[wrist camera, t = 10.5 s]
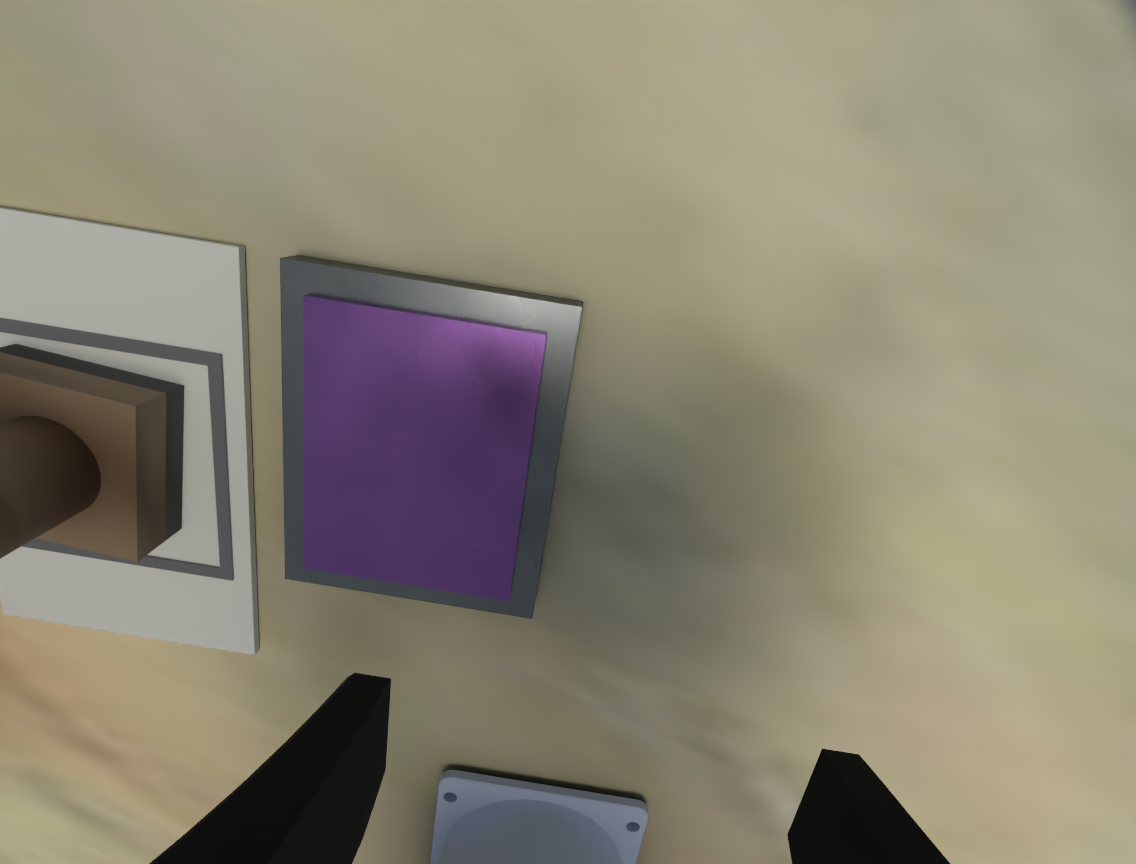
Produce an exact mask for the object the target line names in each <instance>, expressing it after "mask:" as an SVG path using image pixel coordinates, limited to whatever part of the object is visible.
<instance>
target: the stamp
mask: <svg viewBox="0 0 1136 864" xmlns="http://www.w3.org/2000/svg"><path fill="white" fill-rule="evenodd" d="M183 435H184V385H181V384H177V383H173V382H168V381H164V380H160V379H156V378H152V377H148V376H144V375H140V374H136V373H132V372H128V371H124V370H120V369H116V368H112V367H108V366H104V365H100V364H96V363H92V362H88V361H84V360H80V359H76V358H72V357H68V356H64V355H60V354H56V353H52V352H48V351H44V350H40V349H36V348H32V347H28V346H24V345H20V344H13V345H8V346H4V347H0V559H1V558H2V557H4V556H6V555H8V554H9V553H11V552H13V551H14V550H16V549H18V548H20V547H21V546H23V545H25V544H26V543H28V542H30V541H32V540H33V539H35V538H38V539H43V540H47V541H51V542H55V543H59V544H64V545H68V546H72V547H76V548H80V549H85V550H89V551H93V552H97V553H101V554H106V555H110V556H114V557H118V558H122V559H127V560H131V561H135V562H138V561H140V560H141V559H142V558H143V557H145V556H146V555H147V554H149V553H150V552H151V551H153V550H154V549H155V548H157V547H158V546H159V545H161V544H162V543H163V542H165V541H166V540H167V539H169V538H170V537H171V536H172V535H174V534H175V533H176V532H178V531H179V530H180V529H182V489H183Z"/></svg>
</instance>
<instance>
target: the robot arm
mask: <svg viewBox="0 0 1136 864" xmlns="http://www.w3.org/2000/svg"><path fill="white" fill-rule="evenodd" d="M390 687H391V679H390V678H384V677H377V676H371V675H365V674H359V673H354V674H352V675H350V676H349V677H347V678H346V680H345V681H344V682H343V683H342V684H341V685H340V686H339V687H338V688H337V689H336V691H335V692H334V693H333V694H332V695H331V696H330V697H329V698H328V699H327V700H326V701H325V702H324V703H323V704H322V705H321V707H320V708H319V709H318V710H317V711H316V712H315V713H314V714H313V715H312V716H311V717H310V718H309V719H308V720H307V721H306V722H305V723H304V724H303V725H302V726H301V727H300V728H299V729H298V730H297V731H296V732H295V733H294V734H293V735H292V736H291V737H290V738H289V739H288V740H287V741H286V742H285V743H284V744H283V745H282V746H281V747H280V748H279V749H278V750H277V751H276V752H275V753H274V754H273V755H272V756H270V757H269V758H268V759H267V760H266V761H265V762H264V763H263V764H262V765H261V766H260V767H259V768H258V769H257V770H256V771H255V772H254V773H253V774H252V775H251V776H250V777H249V778H248V779H246V780H245V781H244V782H243V783H242V784H241V785H240V786H239V787H238V788H237V789H236V790H234V791H233V792H232V793H231V794H230V795H229V796H228V797H227V798H225V799H224V800H223V801H222V802H221V803H220V804H219V805H217V806H216V807H215V808H214V809H213V810H212V811H211V812H209V813H208V814H207V815H206V816H205V817H204V818H203V819H202V820H200V821H199V822H198V823H197V824H196V825H195V826H194V827H192V828H191V829H190V830H189V831H188V832H187V833H186V834H184V835H183V836H182V837H181V838H180V839H179V840H177V841H176V842H175V843H174V844H173V845H171V846H170V847H169V848H168V849H167V850H165V851H164V852H163V853H162V854H160V855H159V856H158V857H157V858H156V859H154V860H153V861H152V862H151V863H149V864H352V862H353V860H354V858H355V855H356V853H357V851H358V848H359V846H360V844H361V841H362V839H363V836H364V833H365V830H366V827H367V824H368V821H369V818H370V815H371V812H372V810H373V807H374V803H375V800H376V797H377V794H378V791H379V788H380V785H381V782H382V779H383V776H384V772H385V768H386V752H387V736H388V719H389V703H390ZM647 822H648V807H647V805H646V804H645V803H644V802H642V801H640V800H637V799H631V798H625V797H618V796H612V795H606V794H600V793H594V792H588V791H581V790H575V789H569V788H563V787H557V786H551V785H544V784H538V783H532V782H526V781H520V780H514V779H507V778H501V777H495V776H489V775H483V774H477V773H470V772H464V771H458V770H448V771H445V772H444V773H443V774H442V775H441V778H440V781H439V785H438V795H437V804H436V814H435V823H434V833H433V842H432V852H431V861H430V864H636V861H637V857H638V854H639V850H640V846H641V843H642V839H643V836H644V832H645V829H646V825H647ZM788 841H789V847H790V853H791V859H792V864H950V863H949V862H948V861H947V859H946V858H945V857H944V856H943V855H942V853H941V852H940V851H939V850H938V849H937V847H936V846H935V845H934V844H933V843H932V841H931V840H930V839H929V838H928V837H927V835H926V834H925V833H924V832H923V831H922V829H921V828H920V827H919V826H918V825H917V823H916V822H915V821H914V820H913V819H912V817H911V816H910V815H909V814H908V813H907V811H906V810H905V809H904V808H903V807H902V805H901V804H900V803H899V802H898V800H897V799H896V798H895V797H894V796H893V794H892V793H891V792H890V791H889V790H888V788H887V787H886V786H885V785H884V784H883V782H882V781H881V780H880V779H879V778H878V776H877V775H876V774H875V773H874V772H873V770H872V769H871V768H870V767H869V766H868V765H867V763H866V762H865V761H864V760H863V759H862V758H861V757H860V755H858V754H852V753H846V752H839V751H833V750H827V749H822V751H821V753H820V756H819V758H818V760H817V763H816V765H815V768H814V770H813V773H812V775H811V778H810V780H809V783H808V785H807V788H806V790H805V793H804V795H803V798H802V800H801V803H800V805H799V808H798V810H797V812H796V815H795V817H794V820H793V822H792V825H791V827H790V830H789V832H788Z"/></svg>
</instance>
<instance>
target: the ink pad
mask: <svg viewBox="0 0 1136 864" xmlns="http://www.w3.org/2000/svg"><path fill="white" fill-rule="evenodd" d="M280 284H281V346H282V408H283V470H284V532H285V579H291V580H297V581H303V582H309V583H315V584H322V585H328V586H334V587H340V588H346V589H352V590H358V591H365V592H371V593H377V594H383V595H389V596H395V597H402V598H408V599H414V600H420V601H426V602H432V603H438V604H445V605H451V606H457V607H463V608H469V609H475V610H482V611H488V612H494V613H500V614H506V615H512V616H519V617H525V618H531V619H532V617H533V611H534V606H535V600H536V594H537V587H538V581H539V575H540V569H541V562H542V556H543V550H544V544H545V537H546V531H547V525H548V519H549V512H550V506H551V500H552V494H553V487H554V481H555V475H556V468H557V462H558V456H559V450H560V443H561V437H562V431H563V425H564V418H565V412H566V406H567V400H568V393H569V387H570V381H571V375H572V368H573V362H574V356H575V350H576V343H577V337H578V331H579V325H580V318H581V312H582V306H583V302H582V301H576V300H570V299H564V298H558V297H552V296H545V295H539V294H533V293H527V292H521V291H515V290H509V289H503V288H496V287H490V286H484V285H478V284H472V283H466V282H460V281H454V280H447V279H441V278H435V277H429V276H423V275H417V274H411V273H405V272H398V271H392V270H386V269H380V268H374V267H368V266H362V265H356V264H349V263H343V262H337V261H331V260H325V259H319V258H313V257H306V256H300V255H296V256H289V257H283V258H280Z"/></svg>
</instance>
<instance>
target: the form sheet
mask: <svg viewBox="0 0 1136 864" xmlns="http://www.w3.org/2000/svg"><path fill="white" fill-rule="evenodd" d="M13 344H20V345H24V346H28V347H32V348H36V349H40V350H44V351H48V352H52V353H56V354H60V355H64V356H68V357H72V358H76V359H80V360H84V361H88V362H92V363H96V364H100V365H104V366H108V367H112V368H116V369H120V370H124V371H128V372H132V373H136V374H140V375H144V376H148V377H152V378H156V379H160V380H164V381H168V382H173V383H177V384H181V385H184V435H183V489H182V529H180V530H179V531H178V532H176V533H175V534H174V535H172V536H171V537H170V538H169V539H167V540H166V541H165V542H163V543H162V544H161V545H159V546H158V547H157V548H155V549H154V550H153V551H151V552H150V553H149V554H147V555H146V556H145V557H143V558H142V559H141V560H140V561H138V562H135V561H131V560H127V559H122V558H118V557H114V556H110V555H106V554H101V553H97V552H93V551H89V550H85V549H80V548H76V547H72V546H68V545H64V544H59V543H55V542H51V541H47V540H43V539H38V538H35V539H33V540H32V541H30V542H28V543H26V544H25V545H23V546H21V547H20V548H18V549H16V550H14V551H13V552H11V553H9V554H8V555H6V556H4V557H2V558H1V559H0V601H1V606H2V611H3V614H4V615H10V616H16V617H22V618H28V619H34V620H41V621H47V622H53V623H59V624H65V625H71V626H77V627H84V628H90V629H96V630H102V631H108V632H114V633H121V634H127V635H133V636H139V637H145V638H151V639H158V640H164V641H170V642H176V643H182V644H188V645H195V646H201V647H207V648H213V649H219V650H225V651H232V652H238V653H244V654H250V655H255V654H256V653H257V652H258V650H259V629H258V601H257V574H256V546H255V518H254V490H253V462H252V435H251V407H250V379H249V351H248V323H247V296H246V268H245V246H239V245H233V244H227V243H221V242H215V241H208V240H202V239H196V238H190V237H184V236H178V235H172V234H166V233H159V232H153V231H147V230H141V229H135V228H129V227H123V226H116V225H110V224H104V223H98V222H92V221H86V220H80V219H74V218H67V217H61V216H55V215H49V214H43V213H37V212H31V211H25V210H18V209H12V208H6V207H0V347H4V346H8V345H13Z"/></svg>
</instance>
